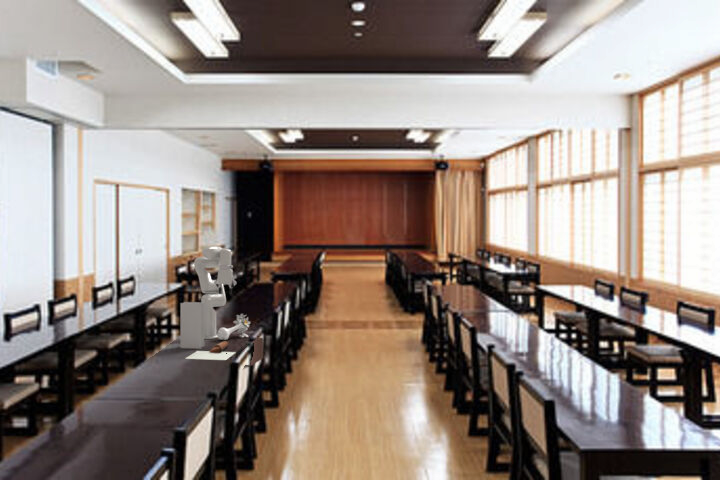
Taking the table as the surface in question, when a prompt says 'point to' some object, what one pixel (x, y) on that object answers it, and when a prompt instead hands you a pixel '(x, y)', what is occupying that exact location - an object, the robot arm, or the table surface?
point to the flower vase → (235, 328)
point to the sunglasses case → (219, 347)
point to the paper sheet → (210, 355)
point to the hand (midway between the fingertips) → (225, 293)
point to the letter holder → (257, 351)
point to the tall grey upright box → (192, 325)
